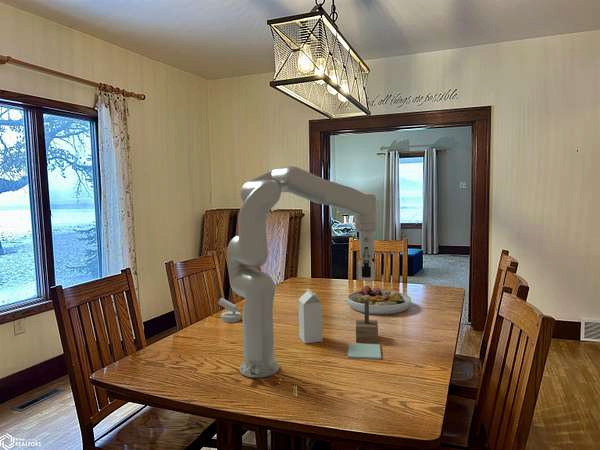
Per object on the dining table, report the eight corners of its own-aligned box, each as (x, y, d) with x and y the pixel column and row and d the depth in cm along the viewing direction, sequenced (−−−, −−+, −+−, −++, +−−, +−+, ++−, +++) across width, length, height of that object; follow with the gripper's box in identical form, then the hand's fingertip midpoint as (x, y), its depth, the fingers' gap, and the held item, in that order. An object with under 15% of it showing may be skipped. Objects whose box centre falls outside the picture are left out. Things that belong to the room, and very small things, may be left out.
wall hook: (223, 295, 192) (243, 296, 188) (224, 315, 192) (244, 317, 189) (213, 300, 184) (234, 301, 180) (214, 321, 184) (235, 323, 181)
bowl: (424, 311, 193) (424, 294, 193) (367, 320, 182) (367, 302, 182) (387, 296, 221) (387, 282, 220) (336, 303, 210) (336, 288, 209)
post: (378, 342, 155) (377, 302, 153) (356, 342, 156) (355, 302, 155) (377, 335, 163) (377, 297, 161) (356, 334, 164) (356, 296, 162)
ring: (374, 280, 154) (374, 264, 153) (358, 280, 155) (358, 264, 154) (374, 277, 160) (374, 261, 159) (358, 277, 161) (358, 261, 160)
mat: (381, 359, 140) (381, 357, 140) (347, 357, 141) (347, 356, 141) (379, 345, 152) (379, 344, 152) (349, 344, 153) (349, 343, 153)
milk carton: (304, 344, 155) (303, 293, 153) (299, 337, 162) (298, 289, 160) (322, 341, 157) (321, 291, 155) (316, 335, 164) (316, 287, 162)
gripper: (377, 229, 147) (377, 280, 148) (375, 225, 164) (375, 271, 165) (355, 229, 148) (355, 280, 149) (356, 225, 165) (356, 271, 166)
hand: (366, 275), depth 157 cm, fingers closed on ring, 6 cm apart
